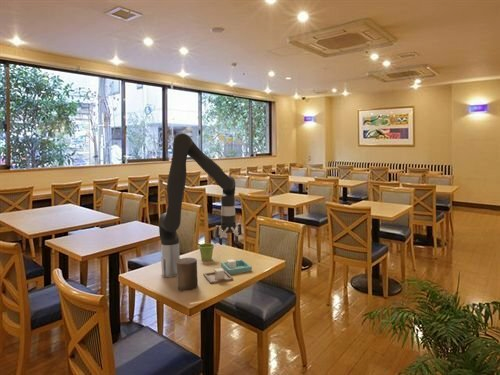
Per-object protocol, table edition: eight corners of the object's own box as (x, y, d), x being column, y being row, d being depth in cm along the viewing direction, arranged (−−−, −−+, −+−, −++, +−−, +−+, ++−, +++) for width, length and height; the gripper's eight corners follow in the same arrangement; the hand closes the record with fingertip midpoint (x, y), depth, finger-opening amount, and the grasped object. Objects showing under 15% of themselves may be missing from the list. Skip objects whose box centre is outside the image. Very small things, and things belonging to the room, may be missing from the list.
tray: (210, 284, 174) (210, 282, 173) (203, 276, 185) (203, 273, 185) (233, 281, 178) (233, 278, 178) (225, 272, 190) (225, 269, 190)
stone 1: (217, 281, 177) (216, 271, 176) (214, 278, 180) (214, 269, 180) (224, 279, 178) (224, 270, 178) (222, 277, 182) (221, 267, 181)
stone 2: (229, 271, 190) (229, 262, 190) (226, 268, 194) (226, 260, 193) (236, 270, 192) (235, 261, 191) (233, 267, 196) (233, 259, 195)
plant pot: (206, 256, 219) (205, 242, 218) (217, 258, 213) (217, 244, 212) (195, 260, 211) (195, 246, 210) (207, 263, 206) (206, 248, 205)
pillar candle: (199, 290, 167) (198, 259, 166) (178, 292, 165) (177, 261, 163) (196, 283, 177) (195, 253, 175) (176, 285, 174) (175, 255, 172)
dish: (229, 275, 186) (228, 270, 185) (221, 267, 198) (221, 262, 197) (251, 271, 191) (251, 266, 190) (242, 264, 203) (242, 259, 202)
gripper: (217, 216, 181) (218, 247, 182) (243, 214, 186) (243, 244, 188) (213, 213, 187) (213, 243, 189) (238, 211, 193) (238, 240, 195)
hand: (228, 243), depth 189 cm, fingers open, 8 cm apart
